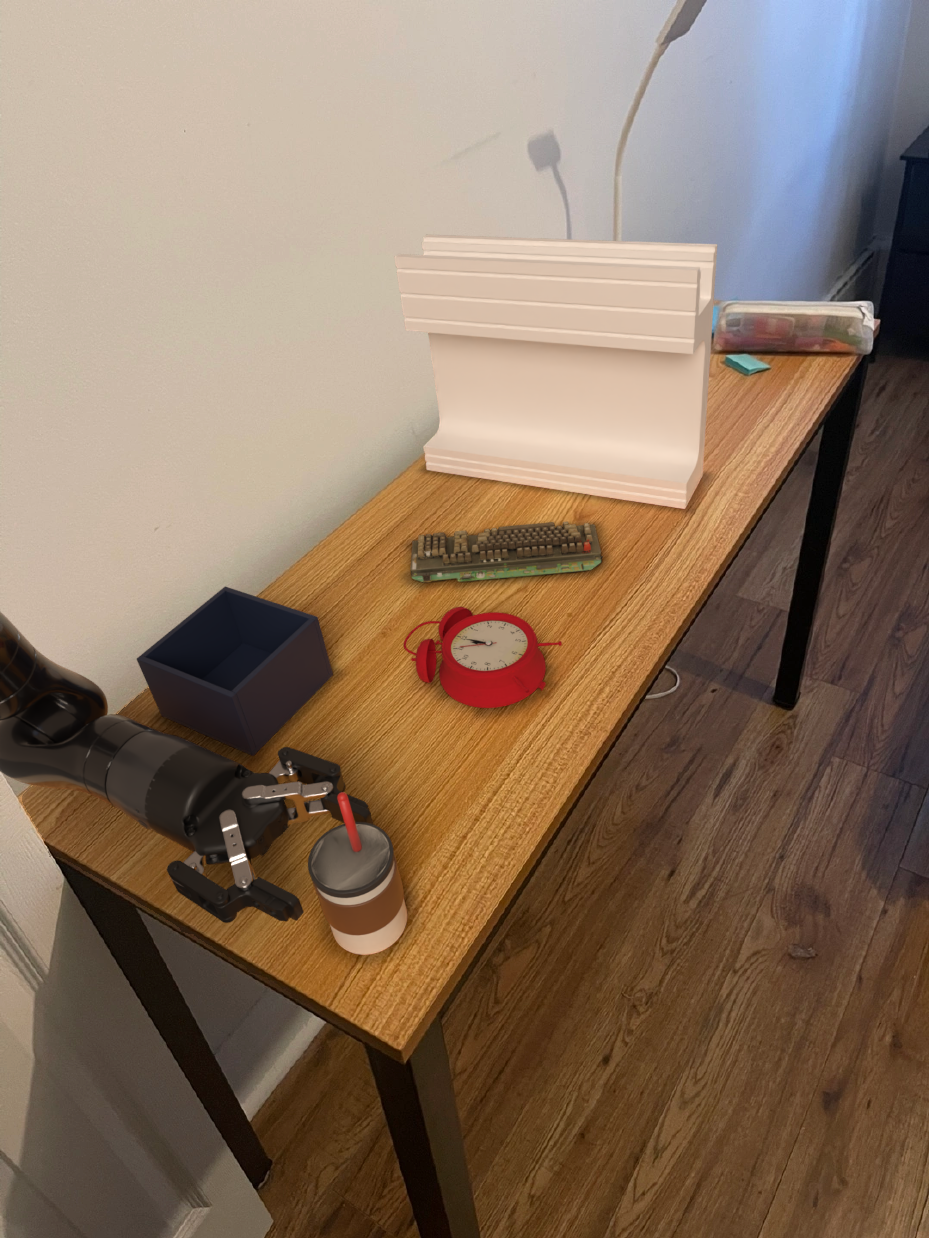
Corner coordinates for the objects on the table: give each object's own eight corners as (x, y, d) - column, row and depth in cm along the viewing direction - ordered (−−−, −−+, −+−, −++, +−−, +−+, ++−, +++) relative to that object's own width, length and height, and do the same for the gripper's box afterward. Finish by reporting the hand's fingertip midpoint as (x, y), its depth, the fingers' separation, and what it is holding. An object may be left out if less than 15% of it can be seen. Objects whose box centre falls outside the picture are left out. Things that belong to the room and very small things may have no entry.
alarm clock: (524, 698, 81) (382, 629, 85) (515, 740, 86) (380, 673, 90) (572, 628, 88) (438, 568, 92) (561, 671, 92) (434, 612, 97)
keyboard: (595, 526, 108) (595, 512, 106) (605, 571, 101) (605, 556, 99) (412, 542, 109) (410, 528, 108) (409, 587, 102) (406, 573, 101)
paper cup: (379, 970, 66) (342, 853, 57) (313, 935, 69) (270, 818, 60) (424, 905, 70) (397, 786, 61) (361, 874, 73) (326, 756, 64)
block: (702, 475, 114) (717, 244, 96) (685, 509, 108) (697, 270, 91) (453, 441, 128) (426, 234, 110) (426, 469, 122) (394, 256, 105)
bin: (253, 756, 84) (231, 697, 80) (161, 716, 90) (135, 658, 85) (333, 674, 92) (317, 616, 87) (244, 642, 98) (225, 586, 93)
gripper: (94, 822, 67) (259, 910, 60) (226, 699, 76) (383, 763, 69) (129, 882, 72) (285, 971, 64) (249, 760, 81) (398, 826, 73)
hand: (335, 863), depth 67 cm, fingers open, 8 cm apart
